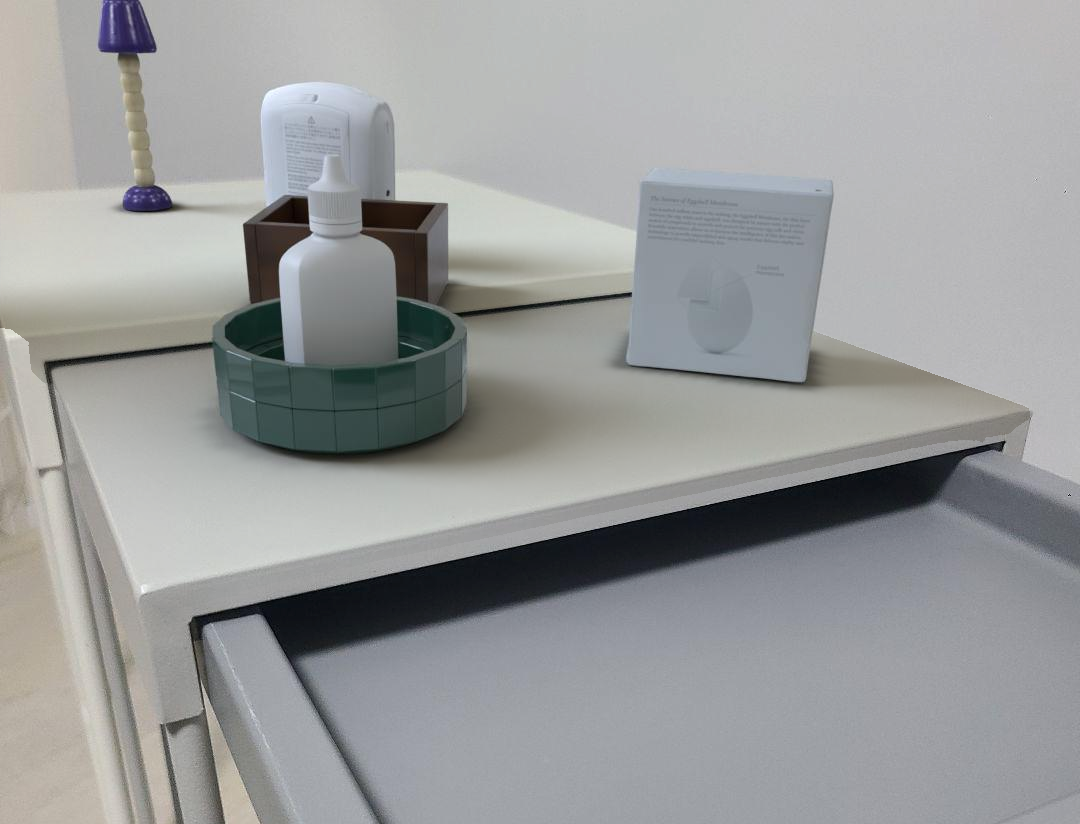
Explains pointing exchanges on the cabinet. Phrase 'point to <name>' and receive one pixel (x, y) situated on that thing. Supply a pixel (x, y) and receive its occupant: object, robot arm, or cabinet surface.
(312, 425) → the bowl
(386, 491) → the cabinet surface
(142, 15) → the toy lamp
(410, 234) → the holder
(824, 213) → the cosmetics box
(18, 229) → the cabinet surface
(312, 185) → the eye dropper bottle
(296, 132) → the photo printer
